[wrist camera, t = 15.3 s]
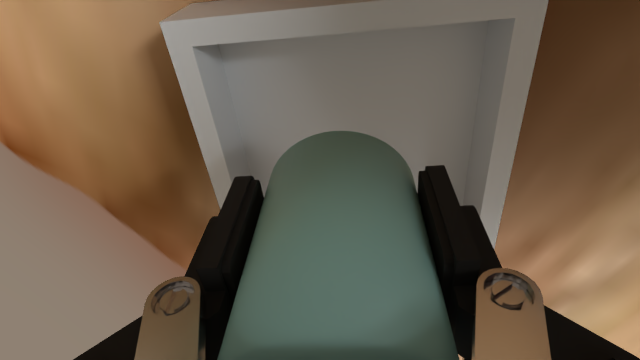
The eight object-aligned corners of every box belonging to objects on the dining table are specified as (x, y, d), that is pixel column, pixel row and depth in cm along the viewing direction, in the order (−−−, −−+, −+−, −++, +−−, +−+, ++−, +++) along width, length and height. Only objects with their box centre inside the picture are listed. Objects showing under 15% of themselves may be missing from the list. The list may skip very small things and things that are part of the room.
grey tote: (191, 3, 17) (158, 22, 15) (516, -31, 16) (552, -17, 13) (264, 272, 28) (254, 314, 25) (466, 269, 26) (480, 313, 23)
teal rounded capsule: (256, 136, 12) (173, 338, 6) (418, 125, 12) (488, 335, 6) (281, 249, 15) (239, 461, 9) (412, 245, 14) (456, 467, 9)
